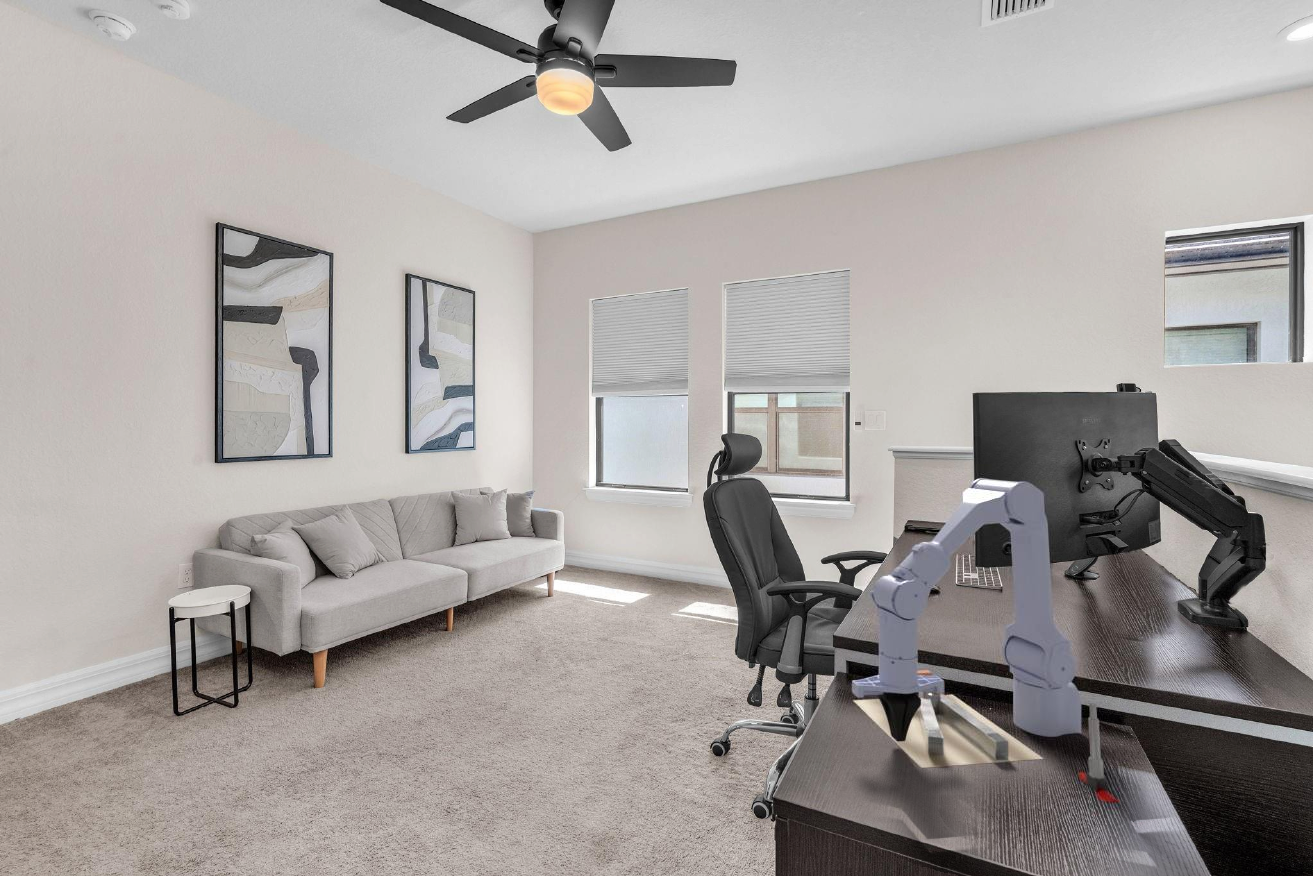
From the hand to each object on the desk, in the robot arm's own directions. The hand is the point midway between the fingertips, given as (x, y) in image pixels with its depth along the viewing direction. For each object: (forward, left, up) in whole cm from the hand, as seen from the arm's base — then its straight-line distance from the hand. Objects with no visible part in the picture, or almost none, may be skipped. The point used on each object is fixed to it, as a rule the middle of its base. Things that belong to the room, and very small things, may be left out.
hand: (898, 738), depth 93 cm
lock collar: (-12, -14, -1) cm, 19 cm away
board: (-10, -5, -2) cm, 12 cm away
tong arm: (-7, -3, -1) cm, 8 cm away
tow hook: (-18, +13, -3) cm, 23 cm away
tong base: (-13, -5, -1) cm, 14 cm away
